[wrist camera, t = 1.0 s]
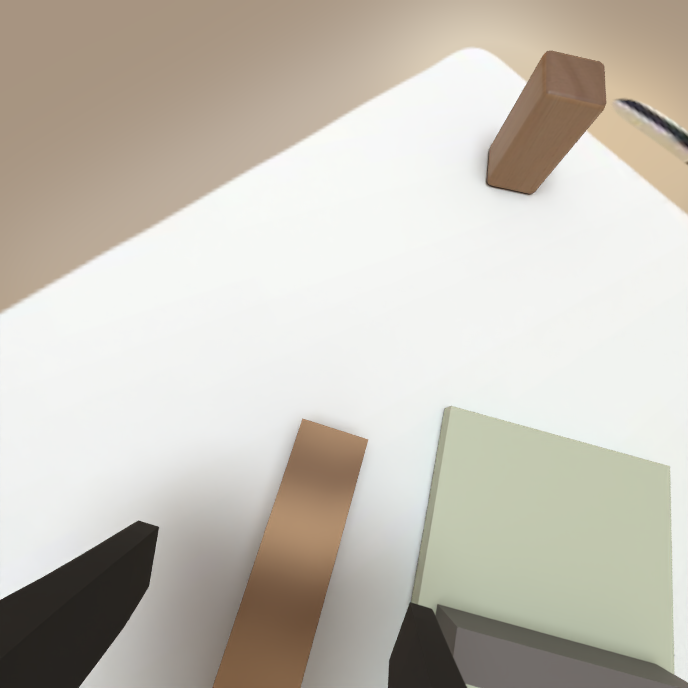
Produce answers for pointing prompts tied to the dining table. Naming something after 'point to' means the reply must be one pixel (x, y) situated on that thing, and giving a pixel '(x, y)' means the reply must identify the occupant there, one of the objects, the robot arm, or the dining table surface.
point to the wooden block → (546, 121)
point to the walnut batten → (293, 562)
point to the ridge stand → (547, 559)
